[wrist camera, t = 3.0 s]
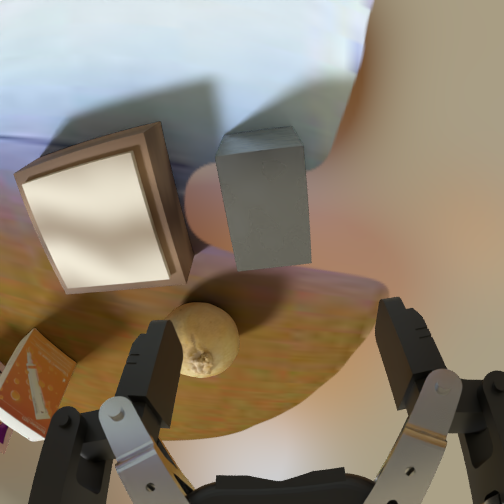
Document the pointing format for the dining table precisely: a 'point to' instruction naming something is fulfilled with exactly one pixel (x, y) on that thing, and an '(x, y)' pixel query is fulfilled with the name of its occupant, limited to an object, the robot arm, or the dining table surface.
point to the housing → (265, 197)
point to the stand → (109, 213)
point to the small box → (33, 385)
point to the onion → (205, 338)
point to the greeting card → (4, 427)
